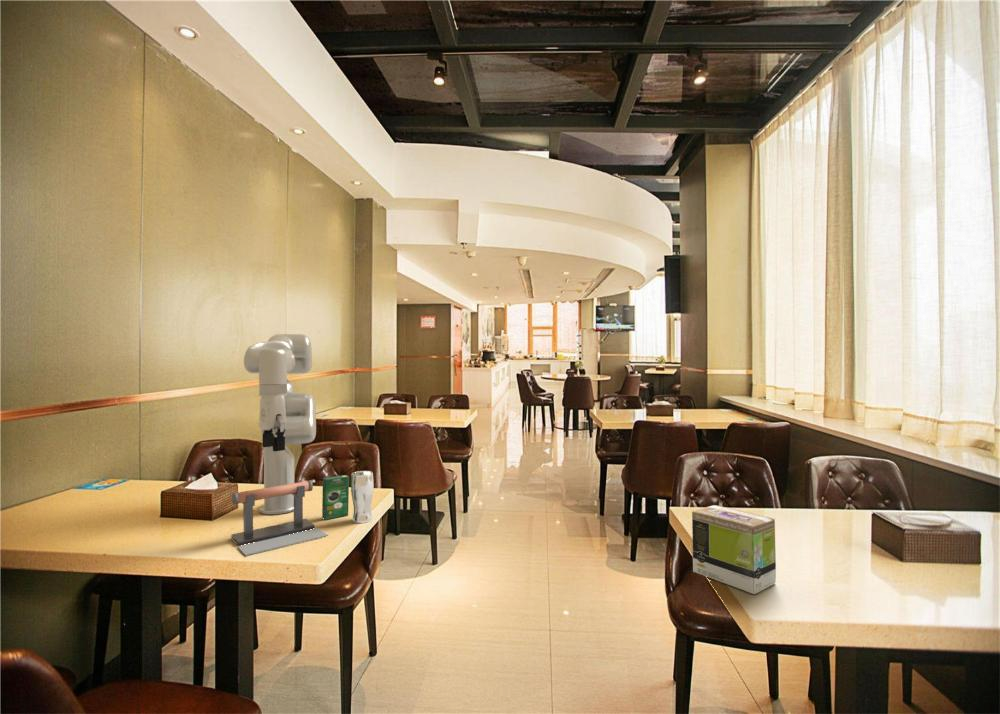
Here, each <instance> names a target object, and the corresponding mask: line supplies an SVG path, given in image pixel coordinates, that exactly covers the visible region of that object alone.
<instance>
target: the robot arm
mask: <svg viewBox="0 0 1000 714" xmlns="http://www.w3.org/2000/svg"><path fill="white" fill-rule="evenodd" d="M312 349H313V348H312V344H311V340H310V338H309V337H308V336H307V335H305V334H302V333H301V334H295V333H294V334H293V333H289V334H287V333H282V334H279V333H278V334H275V335H273V336H270V337H269V338H268V340H267V341H264V342H261V343H256V344H252V345H250V346H248V347H247V348H246V351H245V353H244V356H243V365H244V366H243V367H244V369H245V370H246V371H247V372H248V373H250V374H258V384H259V385H258V396H259V397H260V400H259V401H260V402H259V403H260V404H259V419H258V421H259V423H258V427H259V428H260V434H261V435H260V437H261V441H262V448H263V484H264V485H263V486H264V487H263V488H269V487H275V486H281V485H287V484H293V483H295V456H294V454H293V452H292V451H291V450H290V449H289V448H288V446H287V445H298V444H300V445H301V444H310V443H312V442H313V441H314V440H315V438H316V436H317V410H316V409H317V408H316V401H315V398H314V396H313V395H312V394H310V393H306V392H305V393H304V392H301V393H300V392H299V393H294V390H295V386H294V385H293V384H292V382H291V381H290V380H289V378H288V375H289V374H290V375H291V374H295V375H296V374H297V375H298V374H307V373H309V372H310V371H311V370H312V366H313V352H312V351H313V350H312ZM263 500H264V504H263V505H261V506H260V507H259V510H258V511H259V513H260V514H262V515H271V516H272V515H282V514H287V513H292V512H294V495H292V494H289V495H283V496H278V497H272V498H267V499H263ZM291 511H292V512H291Z"/></svg>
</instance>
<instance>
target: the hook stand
mask: <svg viewBox="0 0 1000 714" xmlns="http://www.w3.org/2000/svg"><path fill="white" fill-rule="evenodd" d="M245 491H246V490H245ZM245 491H243V492H245ZM292 495H294V511H293V520H292V521H288V522H284V523H280V524H274V525H270V526H265V527H261V528H255V529H254V507H255V506H256V505H255V504H256V500H255V494H250V495H246V502H244V503H241V504H242V505H243V509H242V510H243V511H242V512H243V531H241V532H237V533H231V535H230V537H231V538H232V539H233V540H234V541H235V542H236V543H237V544H236V543H235V542H234V541H233V540H232V539H231V538H230V539H231V540H232V541H233V542H234V543H235V544H236V545H237V547H238V546H241V545H244V544H248V543H253V542H259V541H263V540H268V539H272V538H277V537H281V536H285V535H289V534H293V533H297V532H302V531H305V530H310V529H313V528H315V529H316V526H315V524H314V523H312V522H311V521H309V520H307V518H304V517H303V516H304V513H303V512H304V506H303V505H304V503H303V498H305V495H306V494H305V486H304V485H303V486H297V493H295V494H292Z"/></svg>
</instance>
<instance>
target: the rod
mask: <svg viewBox="0 0 1000 714" xmlns="http://www.w3.org/2000/svg"><path fill="white" fill-rule="evenodd" d="M303 485H304V486H305V492H312V491H313V489H314V485H313V480H306V481H300V482H294V483H293V484H287V485H281V486H275V487H269V488H264V487H263V488H259V489H257V488H256V489H252V490H245V492H244V491H239V492H233V493H231V503H232V505H238V504H242V503H244V502H246V495H250V494H255V501H260V500H261V501H262V500H264V499H267V498H272V497H278V496H283V495H289V494H295V493H297V486H303Z"/></svg>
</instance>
